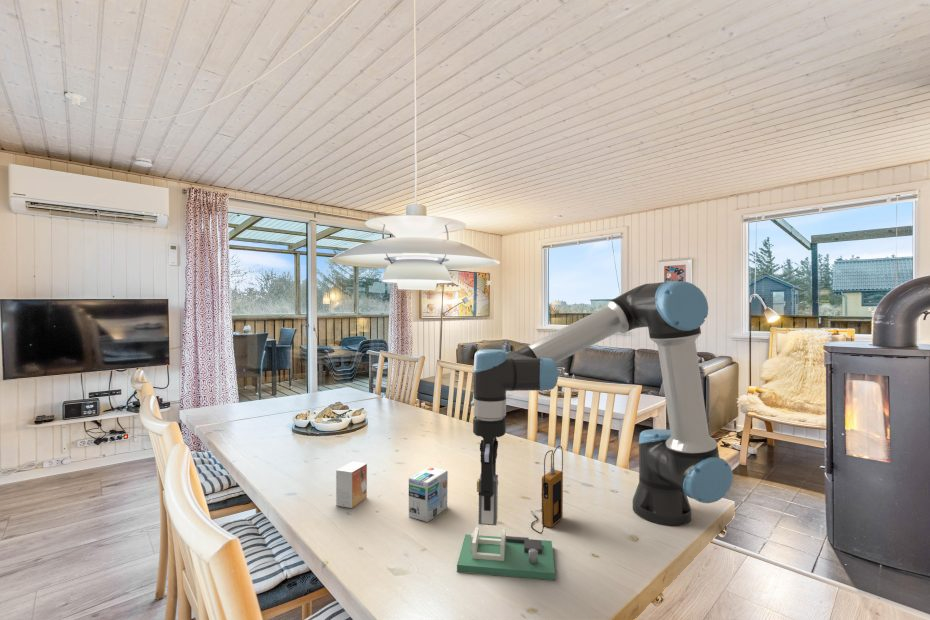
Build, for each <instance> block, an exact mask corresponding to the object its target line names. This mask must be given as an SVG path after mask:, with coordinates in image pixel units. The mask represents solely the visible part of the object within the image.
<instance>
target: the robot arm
mask: <svg viewBox="0 0 930 620" xmlns="http://www.w3.org/2000/svg"><path fill="white" fill-rule="evenodd" d="M708 314H709V303H708V299H707V297H706V296H705V294H704V292H703V291H702V289H700V288H699V287H698V286H696V285H695V284H693V283H692V282H689V281H683V280H682V281H681V280H678V281H677V280H669V281H663V282H654V283H650V282H649V283H644V284H642V285H641V284H640V285H639V286H636V287H634V288H632V289H629V290H628V291H626V292H625V293H623V294H620V295H618V296H617V297H615V298H613V299H611V300H608V301H607V302H606V303H605V306H604V307H603V308H601V309H598V310H596V311H595V312H593V313H591V314H589V315H587V316H585V317H583V318H581V319H578V320H577V321H574V322H572V323H570V324H568V325H567V326H564V327H562V328H560V329H558V330H555V331H554V332H552V333H550V334H548V335H546V336H544V337H542V338H540V339H538V340H536V341H534V342H532V343H529V344H527V345H526V346H524V347H522V348H519V349H517V350H510V351H507V352H506V350H503V349H492V348H490V349H489V348H488V349H485V348H484V349H478V350H477V351H476V352H475V353H474V360H473V369H472V370H473V401H471V402H470V405H471V406H472V407H473V411H472V412H473V416H474V417H473V419H472V432H473V434H474V435H475V436H476V437H481V438H482V439H481V440H480V443H479V451H480V470H481V471H480V475H481V492H477V494H478V495H477V496H479V495H481V496H482V505H481V523H482V524H493V523H494V492H493V474H495V475H497V473H496V472H497V471H496V469H497V468H496V467H497V466H496V465H497V463H496V462H497V458H498V448H499V440H498V438H501V437H503V436H504V435H506V433H507V432H506V430H507V429H506V428H507V427H506V426H507V425H506V423H507V420H506V418H505V416H507V392H514V391H520V392H521V391H525V392H526V391H540V392H542V391H551V390H554V389H555V387H556V386H557V384H558V380H559V370H558V367H557V363H559V362H561V361H563V360H565V359H567V358H569V357H571V356H573V355H575V354H577V353H579V352H581V351H584V350H586V349H587V348H589V347H591V346H594V345H595V344H598V343H599V342H602V341H603V340H605V339H607V338H609V337H611V336H614V335H615V334H617V333H621V334H625V333H628V332H630V331H633V330H636V329H639V328H647V329H648V336H649V340H651V341H653V342H654V343H655V344H656V345H657V351H658V356H659V357H658V358H659V364H660V371H661V378H662V384H663V385H662V386H663V392H664V398H665V404H666V411H667V419H668V424H669V425H668V426H669V429H662V428H659V429H658V428H657V429H656V428H655V429H653V428H652V429H644V430H642V431H641V432H640V433H639V437H638V438H639V439H638V451H639V452H638V465H639V466H638V468H639V469H638V470H639V471H638V480H639V482H638V484H637V487H636V489H635V492H634V494H633V497H632V511H633V513H635V514H636V515H637V516H638V517H641V518H642V519H644V520H646V521H649V522H652V523H655V524H659V525H666V526H682V524H683V525H686V524H689V523H690V522H691V521H690V520H692V507H691V505H690V502H689V499H688V498H690V499H693V500H695V501H697V502H700V503H702V504H713V503H716V502H718V501H720V500H721V499H722V498H724V497H725V496H726V494H727V492H729V491H730V490H731V488H732V484H733V479H734V474H733V470H732V467H731V465H730V464H729V463H728V462H727V461H726V460H724V458H721V457H720V453H719V446H718V442H717V440H716V439H714V438H713V437H711V435H710V432H709V431H710V430H709V425H708V419H707V411H706V406H705V399H704V390H703V385H702V380H701V378H702V377H701V372H700V365H699V358H698V352H697V351H698V350H697V346H696V345H697V344H696V341H697V339H698V338H699V337H700V335H701V334H702V331H701V330H702V329H701V326H702V325H704V323H705V321H706V320H705V319H706V318H707V317H708ZM689 521H690V522H689ZM685 523H686V524H685ZM482 524H481V525H482Z"/></svg>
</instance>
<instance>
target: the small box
mask: <svg viewBox="0 0 930 620" xmlns="http://www.w3.org/2000/svg"><path fill="white" fill-rule="evenodd" d="M367 470H368V464H367V463H364V462H358V461H350V462H349V463H347V464H346V465H344V466H342V467H340V468H337V469H336V470H335V471H336V473H335V475H336V476H335V477H336V478H335V479H336V480H335V482H336V483H335V487H336V488H335V492H336V493H335V494H336V495H335V497H336V498H335V502H336V504H335V505H336V506H337V507H342V508H348V509H353V508H354V507H356V506H357V505H359V504H360V503H362V502H363V501H364V500H365V499H367V497H368V494H367V493H368V492H367V490H368V478H367V477H368V471H367Z"/></svg>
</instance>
